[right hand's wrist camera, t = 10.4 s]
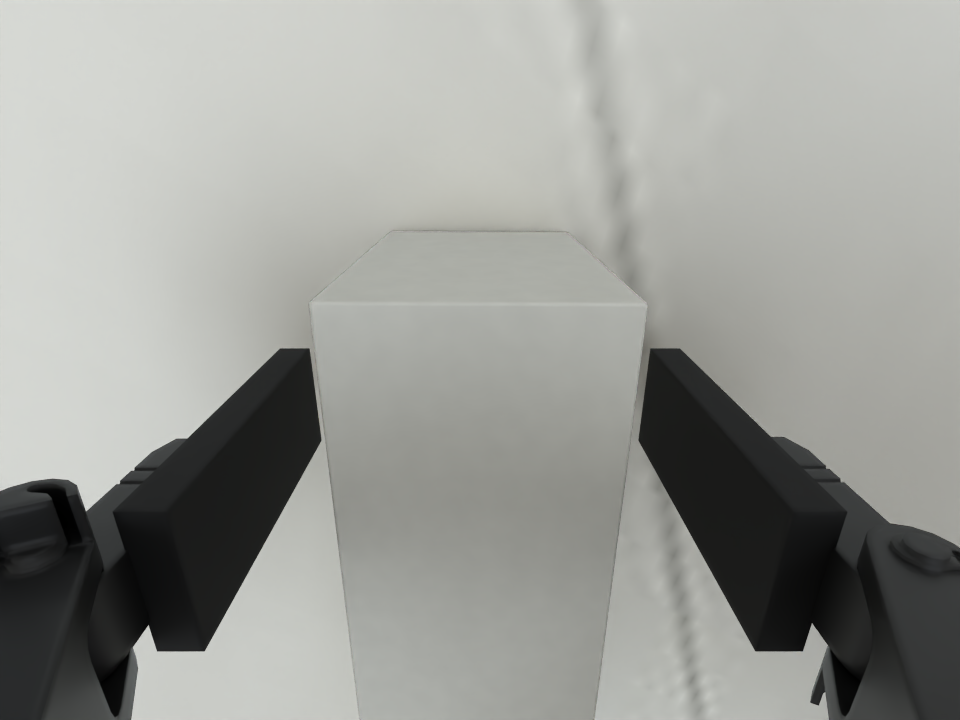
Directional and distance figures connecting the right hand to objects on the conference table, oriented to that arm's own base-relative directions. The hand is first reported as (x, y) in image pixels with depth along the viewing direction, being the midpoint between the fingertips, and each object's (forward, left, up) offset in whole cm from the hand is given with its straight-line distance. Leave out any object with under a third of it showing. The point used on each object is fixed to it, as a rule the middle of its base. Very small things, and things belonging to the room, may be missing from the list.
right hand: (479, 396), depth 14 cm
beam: (-13, +22, -2) cm, 26 cm away
